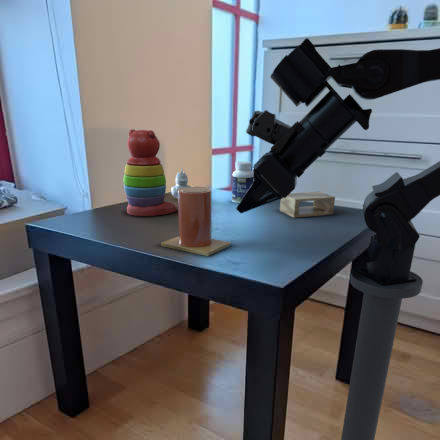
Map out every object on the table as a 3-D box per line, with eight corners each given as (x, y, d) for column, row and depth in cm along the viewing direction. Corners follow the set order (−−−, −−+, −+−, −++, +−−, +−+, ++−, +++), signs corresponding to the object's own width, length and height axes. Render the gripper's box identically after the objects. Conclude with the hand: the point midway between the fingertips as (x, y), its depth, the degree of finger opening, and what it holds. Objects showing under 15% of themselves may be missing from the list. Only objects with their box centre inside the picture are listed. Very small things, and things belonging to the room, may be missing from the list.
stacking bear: (180, 210, 98) (177, 129, 91) (151, 219, 90) (145, 131, 83) (145, 205, 103) (139, 127, 96) (115, 213, 95) (106, 129, 88)
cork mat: (230, 245, 73) (230, 242, 73) (207, 256, 68) (207, 252, 67) (185, 236, 78) (185, 233, 78) (160, 245, 73) (160, 242, 72)
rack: (333, 214, 95) (335, 196, 93) (293, 217, 92) (295, 199, 90) (317, 208, 101) (318, 191, 99) (279, 211, 98) (280, 193, 96)
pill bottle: (235, 204, 104) (236, 163, 100) (229, 200, 109) (229, 161, 105) (255, 203, 106) (257, 163, 102) (248, 199, 110) (250, 160, 106)
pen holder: (213, 238, 75) (213, 187, 71) (209, 248, 70) (208, 193, 66) (183, 237, 75) (181, 186, 72) (176, 246, 70) (174, 192, 67)
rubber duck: (175, 202, 106) (173, 169, 103) (168, 197, 112) (167, 166, 109) (195, 200, 108) (194, 168, 105) (188, 196, 114) (187, 165, 111)
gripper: (286, 89, 68) (222, 159, 75) (271, 88, 52) (191, 178, 59) (332, 140, 70) (265, 204, 77) (332, 154, 53) (246, 234, 60)
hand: (244, 204), depth 68 cm, fingers open, 9 cm apart
